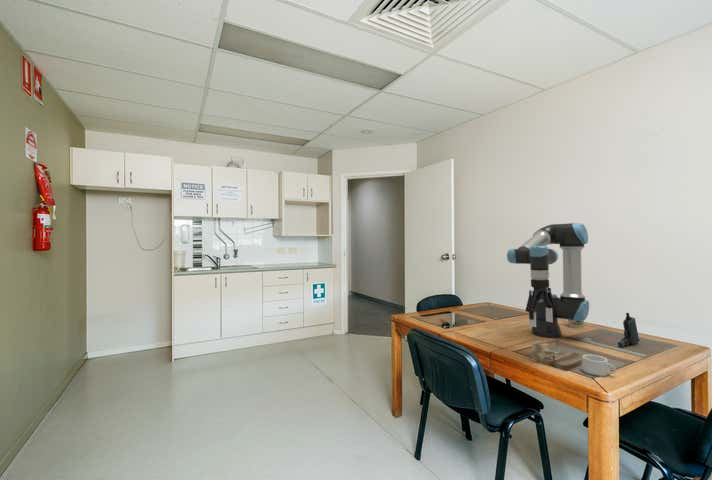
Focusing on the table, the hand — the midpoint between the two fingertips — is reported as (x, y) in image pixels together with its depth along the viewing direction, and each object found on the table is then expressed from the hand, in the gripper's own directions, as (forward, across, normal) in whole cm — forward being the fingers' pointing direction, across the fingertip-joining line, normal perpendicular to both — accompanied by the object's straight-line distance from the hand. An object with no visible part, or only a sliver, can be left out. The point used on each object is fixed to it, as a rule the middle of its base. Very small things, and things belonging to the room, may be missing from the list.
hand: (541, 324), depth 154 cm
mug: (+17, +5, -21) cm, 28 cm away
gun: (+18, +55, -14) cm, 59 cm away
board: (+17, +6, -8) cm, 20 cm away
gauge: (+17, -1, -2) cm, 17 cm away
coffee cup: (+18, +72, +20) cm, 77 cm away
